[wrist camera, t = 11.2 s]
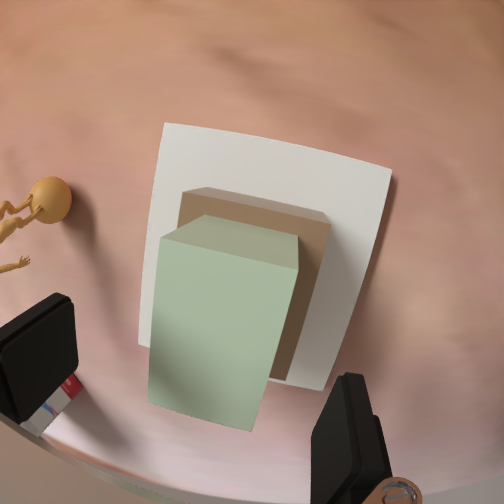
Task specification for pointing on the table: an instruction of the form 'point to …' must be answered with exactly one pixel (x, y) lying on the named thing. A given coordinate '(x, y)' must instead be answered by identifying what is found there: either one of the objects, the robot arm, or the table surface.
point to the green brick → (219, 317)
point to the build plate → (283, 183)
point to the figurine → (36, 210)
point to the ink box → (52, 406)
